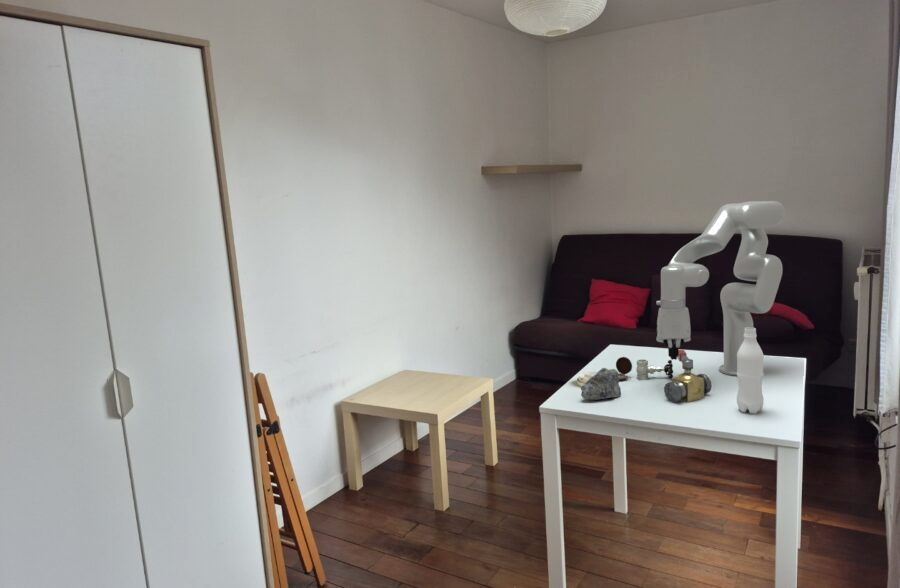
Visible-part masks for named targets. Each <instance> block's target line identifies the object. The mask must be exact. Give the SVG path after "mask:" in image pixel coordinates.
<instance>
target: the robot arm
mask: <svg viewBox="0 0 900 588" xmlns="http://www.w3.org/2000/svg"><path fill="white" fill-rule="evenodd" d="M785 217H786V210H785V207H784V205H783V204H782V203H781V202H779V201H776V200H774V201H773V200H770V201H768V200H765V201H764V200H763V201H761V200H760V201H759V200H754V201H742V202H740V203H739V202H737V203H726V204H724V205H722V206H720V208H719V209H718V210H717V211H716V213H715V215H714V216H713V217H712V219H711V221H710V222H709V223H708V225H707V226H706V228H705V229H704V230H703V232H702V233H701V235H698V236H697V237H696V238H694V239H693V240H691V241H690V242H688V243H687V244H685V245H683V246H682V247H681V248H680V249H678V251H677V252H676V253H675V254H674V256H672V258H671V260H670V261H669V263H668V264H667V265H666V266H664V267H662V268H661V270H660V300H656V301H655V302H656V305H657V306H660V307H659V308H658V311H657V312H658V313H657V320H656V334H657V336H656V340H655V341H657V343H658V342H659V343H664V344H665V345H666V346H667V351H668V353H667V354H668V355H667V356H668V357H669V358H670V360H672V361H673V360H675V361H676V360H678V358H677V356H679V350H680V347H681V346H682V345H683V344H684V343H686V342H690V341H691V339H692V338H691V334H692V333H691V331H692V330H691V317H690V312H689V308H688V307H687V306H686V288H690V287H691V288H697V287H702V286H704V285H705V284H706V283H707V282H708V280H709V278H710V272H709V271H710V270H709V269H708V267H706V266H704V264H700V263H695V262H696V261H697V260H699V259H701V258H704V257H707V256H710V255H713V254H717V253H719V252H721V251H723V250H724V249H725V248H726V246H727V244H728V243H729V242H730V240H731V239H732V237H733V236H734V234H735V233H736V232H737V230H740V233H741V241H740V245H739V248H738V252H737V255H736V258H735V262H734V266H733V275H734V276H735V278H737V279H739V280H743V281H746V283H745V282H730V283H727V284H726V285H724V286H723V287H722V288H721V291H720V295H719V297H720V303H721V308H722V315H723V316H722V317H723V364H721V365H720V366H719V367H718V370H719V372H720V373H722V374H725V375H728V376H729V375H730V376H737V352H738V350H739V348H740V346H741V345H742V343H743V341H744V333H745V332H744V331H745V328H747V327H753V328H754V320H753V317H752V314H765V313H768V312H769V311H770V310H771V308H772V307H773V305H774V302H775V299H776V295H777V293H778V290H779V286H780V283H781V280H782V277H783V271H784V270H783V264H782V261H781V259H780V258H779V257H777V256H776V255H773V254H768V253H767V248H768V246H769V239H768V235H767V233H766V231H765V229H767V228H768V229H769V228H774V227H777V226H779V225H781V223H783V222H784V219H785ZM747 281H748V282H756V284H753V283H752V284H751V283H747ZM751 313H752V314H751ZM672 340H674V344H673V343H672Z"/></svg>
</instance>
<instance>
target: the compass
mask: <svg viewBox="0 0 900 588" xmlns="http://www.w3.org/2000/svg"><path fill="white" fill-rule="evenodd" d="M615 368H616V370H617V372H618V378H619V381H618V382H625V381H627V380H631V378H629V377H628V376H627V374H630V372H631V371H632V369H633V363H632V360H631V359H630V358H628V357H626V356H622V357H619V358H617V360H616V363H615Z"/></svg>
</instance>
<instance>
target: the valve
mask: <svg viewBox="0 0 900 588" xmlns="http://www.w3.org/2000/svg"><path fill="white" fill-rule="evenodd" d="M672 361H673V360H672V359H668V360H667V364H665V365H664V366H663V367H661V366H657V367H656V366H654V365H653V364H652V365H651V364H650V365H649V361H648V360H647V359H643V358H642V359H637V360H636V368H635V369H636V373H637V374H636V378H637V380H640V381H647V380H648V379H649V374H650V375H654V373H656V372H657V373H662V372H663V373H665V375H666V376H668V379H672V378H674V375H673V374H674V369H673V367H674V365H673V362H672Z"/></svg>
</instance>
